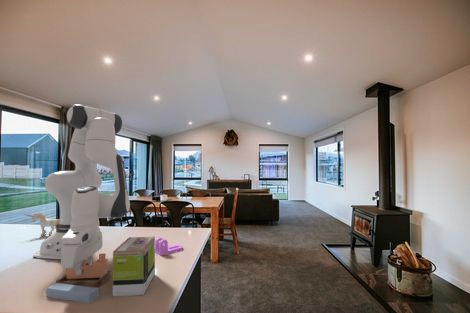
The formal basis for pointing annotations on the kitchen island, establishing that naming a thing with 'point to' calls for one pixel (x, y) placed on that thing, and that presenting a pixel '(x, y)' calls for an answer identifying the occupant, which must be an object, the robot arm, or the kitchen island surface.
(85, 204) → the robot arm
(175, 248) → the bracket
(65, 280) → the cradle
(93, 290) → the panel
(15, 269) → the kitchen island surface
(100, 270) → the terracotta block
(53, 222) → the unicorn figurine
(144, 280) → the tea box
